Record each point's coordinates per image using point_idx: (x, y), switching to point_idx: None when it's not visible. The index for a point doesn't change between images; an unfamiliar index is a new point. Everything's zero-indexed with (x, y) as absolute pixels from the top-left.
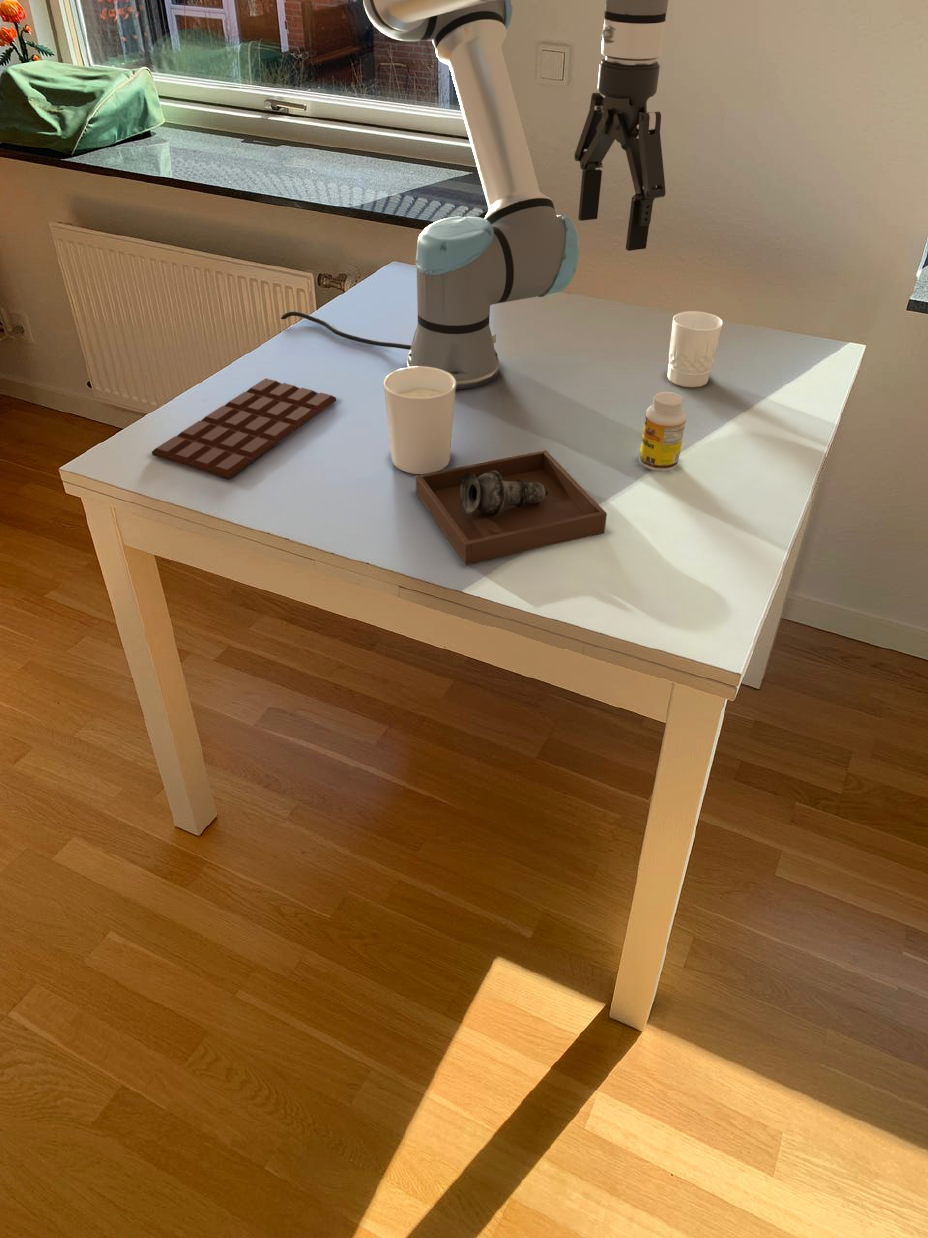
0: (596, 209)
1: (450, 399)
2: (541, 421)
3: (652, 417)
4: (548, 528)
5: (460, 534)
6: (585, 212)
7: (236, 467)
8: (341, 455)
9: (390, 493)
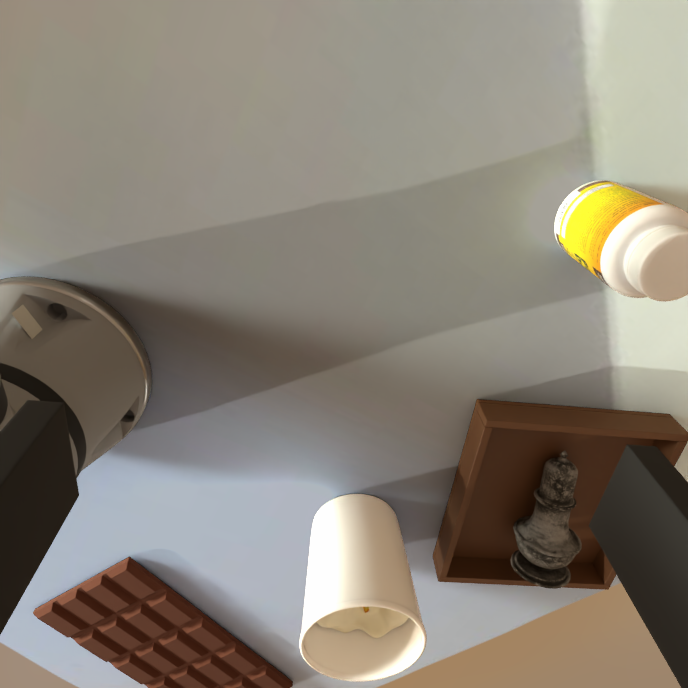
0: (37, 452)
1: (415, 606)
2: (332, 322)
3: (644, 296)
4: None
5: (587, 587)
6: (56, 508)
7: (280, 680)
8: (293, 589)
9: (412, 575)
